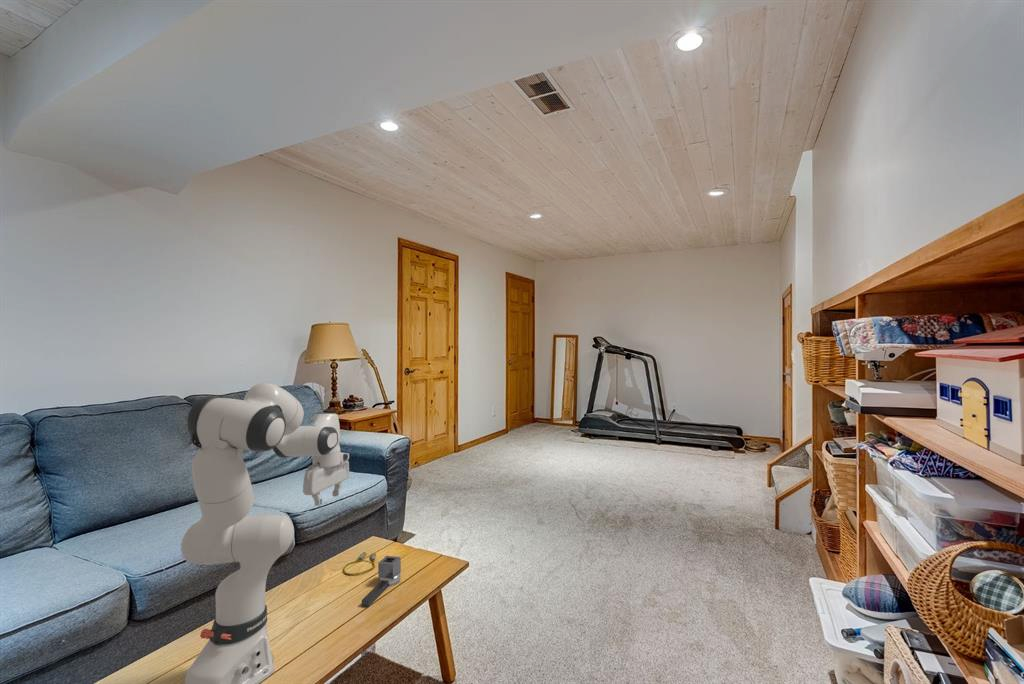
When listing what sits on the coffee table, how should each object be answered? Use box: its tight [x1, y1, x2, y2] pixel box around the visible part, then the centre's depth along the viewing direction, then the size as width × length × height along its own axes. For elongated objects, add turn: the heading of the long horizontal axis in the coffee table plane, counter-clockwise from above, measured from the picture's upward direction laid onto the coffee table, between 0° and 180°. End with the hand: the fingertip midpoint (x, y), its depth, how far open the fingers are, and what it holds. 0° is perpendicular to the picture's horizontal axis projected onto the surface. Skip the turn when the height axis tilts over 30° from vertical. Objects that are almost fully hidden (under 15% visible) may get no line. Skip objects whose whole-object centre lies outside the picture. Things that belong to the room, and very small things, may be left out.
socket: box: [377, 555, 402, 579], centre depth 162 cm, size 6×6×5 cm
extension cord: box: [342, 551, 377, 577], centre depth 174 cm, size 12×16×2 cm
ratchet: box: [361, 572, 401, 608], centre depth 156 cm, size 20×7×6 cm, turn 166°
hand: (327, 500), depth 157 cm, fingers open, 8 cm apart
